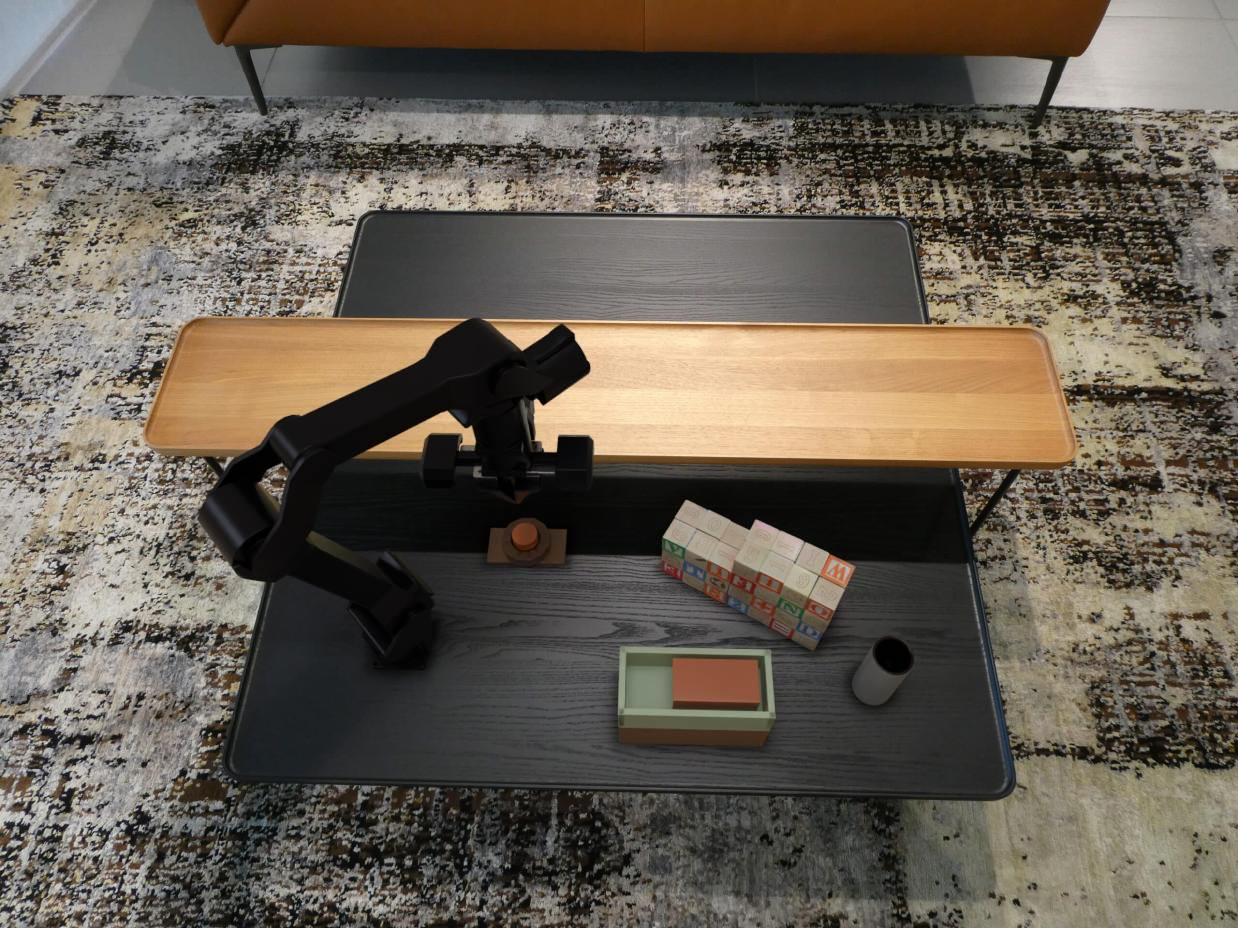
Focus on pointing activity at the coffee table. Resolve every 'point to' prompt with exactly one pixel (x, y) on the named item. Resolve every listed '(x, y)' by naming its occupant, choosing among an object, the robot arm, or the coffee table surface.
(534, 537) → the button
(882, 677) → the planter
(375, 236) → the coffee table surface
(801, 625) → the stack of blocks
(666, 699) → the bin
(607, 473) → the coffee table surface
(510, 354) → the robot arm
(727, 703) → the orange rectangular box
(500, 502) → the coffee table surface
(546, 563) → the button block
